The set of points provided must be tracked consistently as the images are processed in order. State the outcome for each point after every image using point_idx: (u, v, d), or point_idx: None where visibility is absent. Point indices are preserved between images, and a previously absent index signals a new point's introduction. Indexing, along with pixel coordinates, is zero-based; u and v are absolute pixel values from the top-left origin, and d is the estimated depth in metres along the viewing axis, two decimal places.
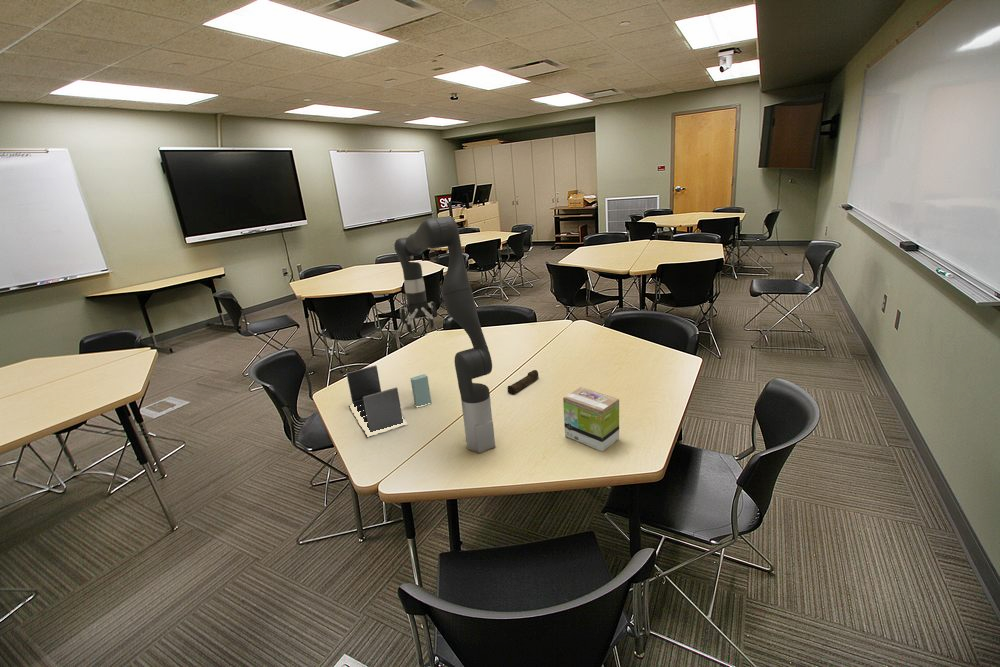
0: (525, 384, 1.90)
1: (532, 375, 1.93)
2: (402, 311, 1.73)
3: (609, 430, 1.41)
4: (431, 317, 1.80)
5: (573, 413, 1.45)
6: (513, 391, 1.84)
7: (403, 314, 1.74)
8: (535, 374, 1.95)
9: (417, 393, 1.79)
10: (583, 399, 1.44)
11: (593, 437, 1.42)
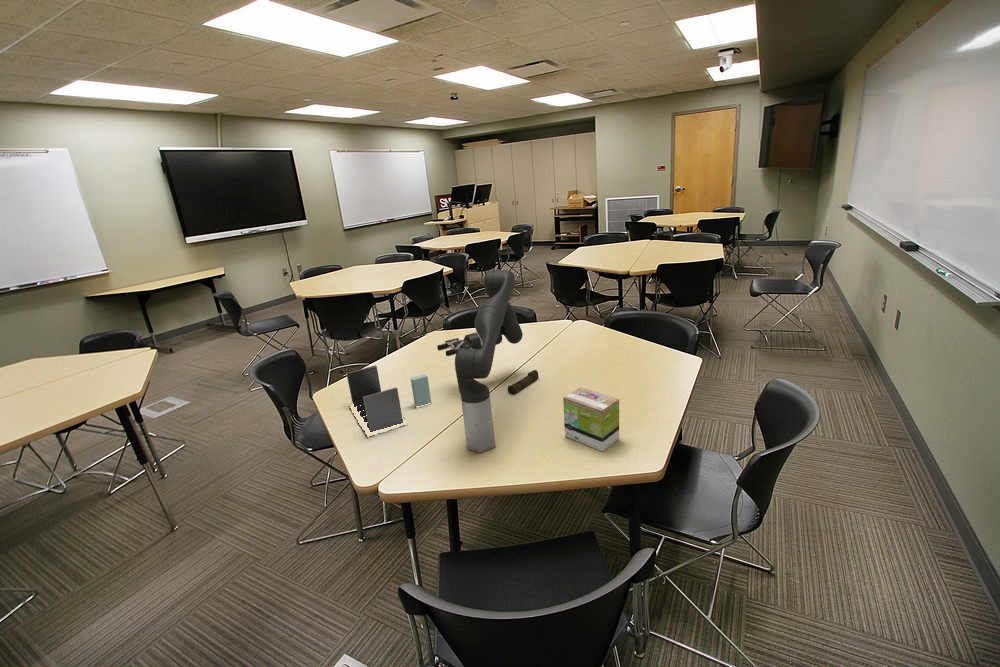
0: (525, 384, 1.90)
1: (532, 375, 1.93)
2: None
3: (609, 430, 1.41)
4: (456, 348, 1.80)
5: (573, 413, 1.45)
6: (513, 391, 1.84)
7: (453, 339, 1.91)
8: (535, 374, 1.95)
9: (417, 393, 1.79)
10: (583, 399, 1.44)
11: (593, 437, 1.42)
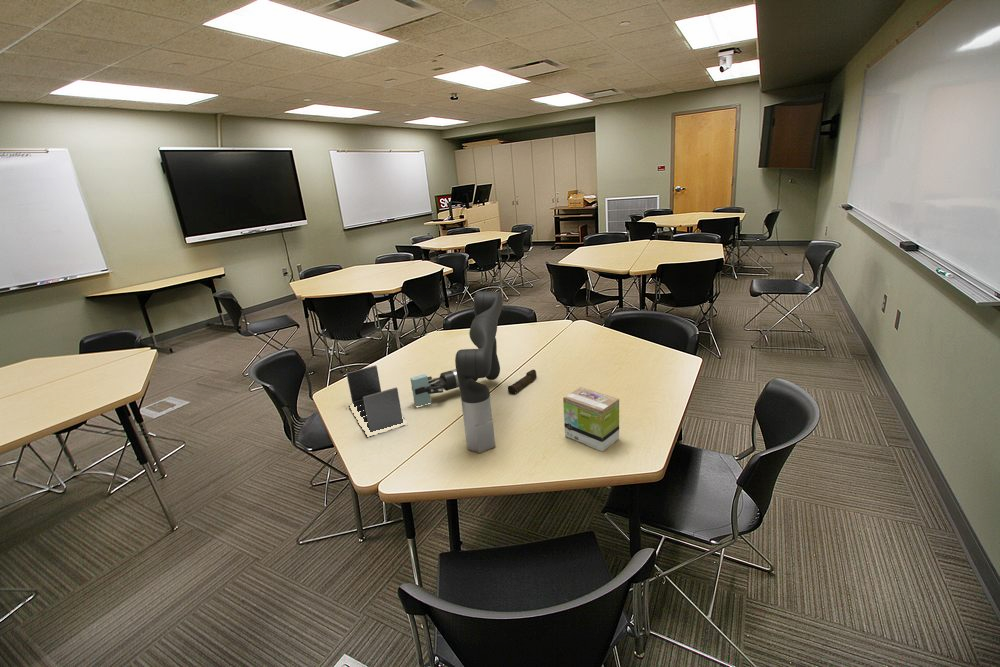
0: (525, 384, 1.90)
1: (531, 375, 1.94)
2: (428, 377, 1.89)
3: (609, 430, 1.41)
4: (426, 386, 1.80)
5: (573, 413, 1.45)
6: (514, 391, 1.84)
7: None
8: (534, 374, 1.95)
9: None
10: (583, 399, 1.44)
11: (593, 437, 1.42)
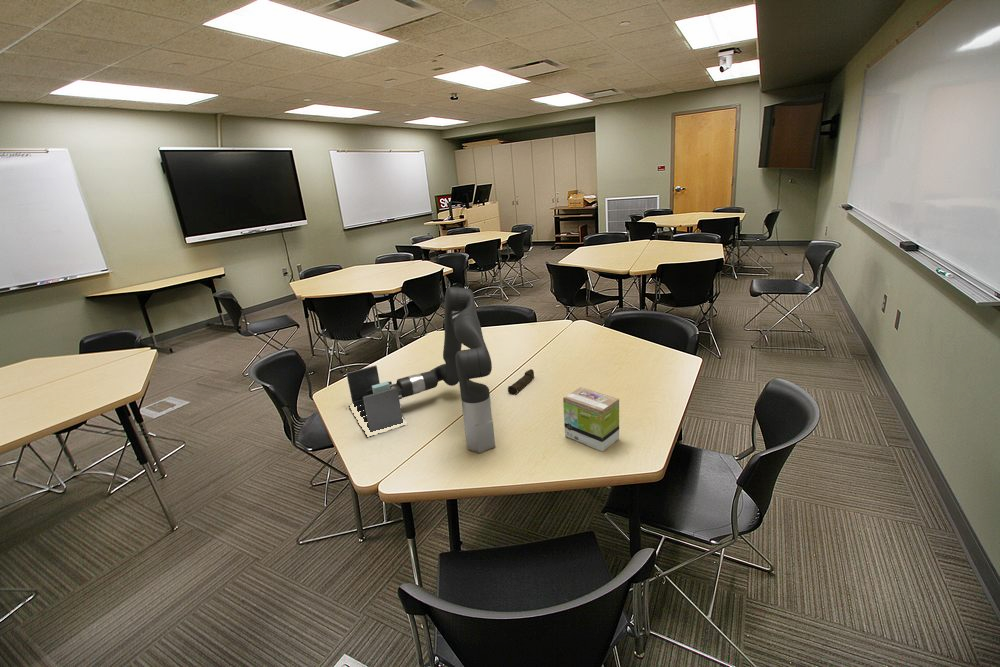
0: (524, 384, 1.90)
1: (529, 374, 1.94)
2: (388, 382, 1.81)
3: (609, 430, 1.41)
4: None
5: (573, 413, 1.45)
6: (514, 391, 1.84)
7: None
8: (532, 373, 1.96)
9: None
10: (583, 399, 1.44)
11: (593, 437, 1.42)
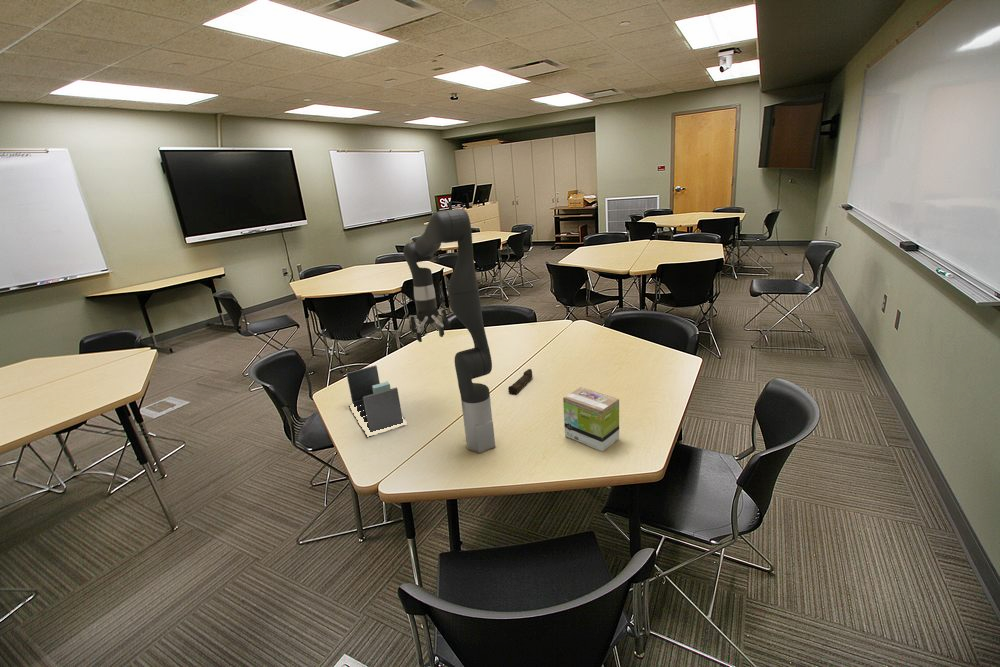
0: (524, 383, 1.91)
1: (528, 374, 1.95)
2: (411, 319, 1.65)
3: (609, 430, 1.41)
4: (441, 325, 1.72)
5: (573, 413, 1.45)
6: (515, 391, 1.84)
7: (413, 322, 1.66)
8: (530, 373, 1.97)
9: None
10: (583, 399, 1.44)
11: (593, 437, 1.42)
